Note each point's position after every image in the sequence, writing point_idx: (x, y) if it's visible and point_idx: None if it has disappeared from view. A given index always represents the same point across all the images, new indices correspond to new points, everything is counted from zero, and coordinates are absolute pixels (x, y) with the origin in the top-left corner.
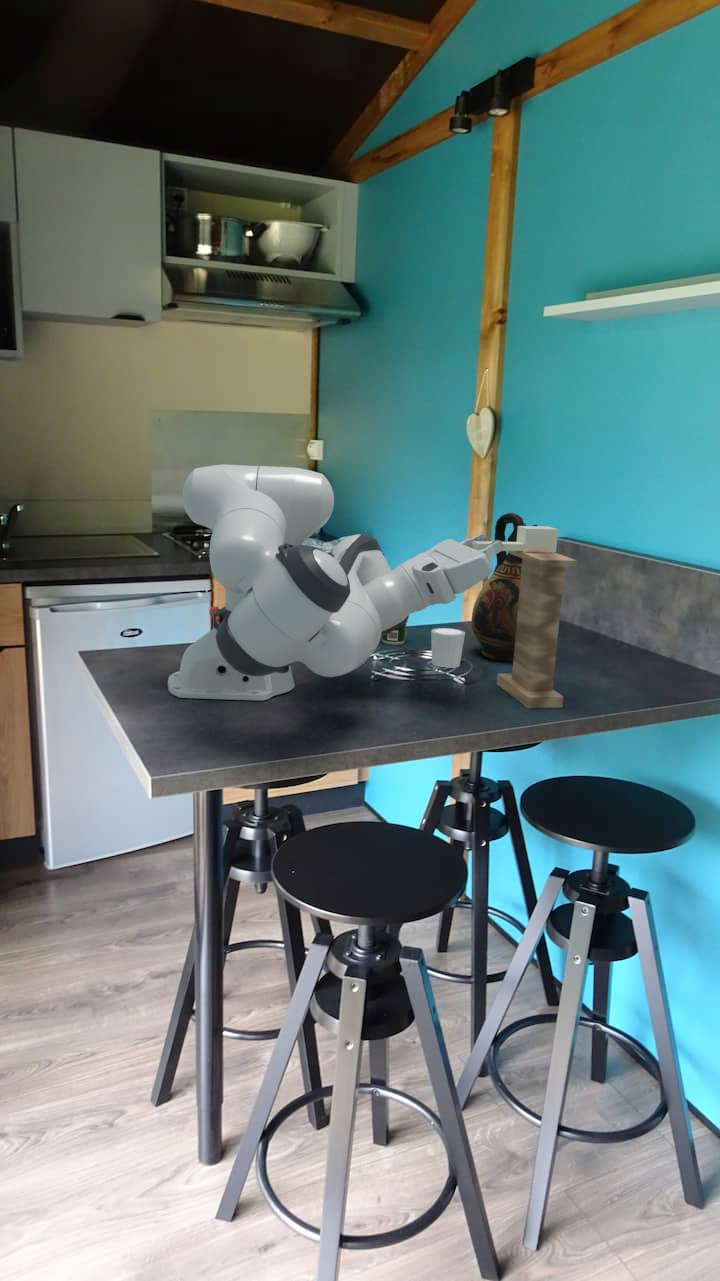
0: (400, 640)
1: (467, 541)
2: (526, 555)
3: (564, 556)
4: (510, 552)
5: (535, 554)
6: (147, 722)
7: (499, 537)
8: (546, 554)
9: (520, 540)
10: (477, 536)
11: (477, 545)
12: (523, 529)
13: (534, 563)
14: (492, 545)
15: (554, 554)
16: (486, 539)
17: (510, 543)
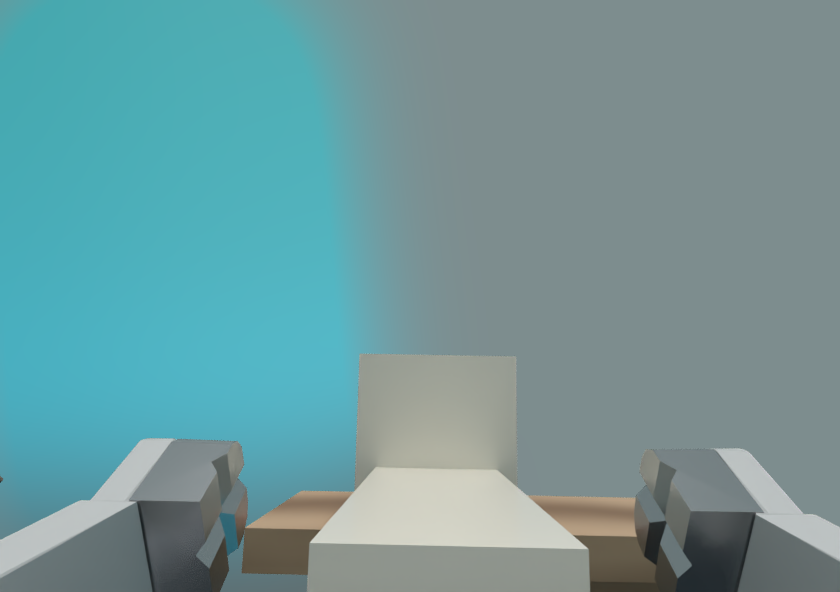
0: None
1: (22, 580)
2: (613, 544)
3: (612, 498)
4: (301, 563)
5: (590, 522)
6: None
7: None
8: (567, 509)
9: (429, 450)
10: (144, 471)
11: (548, 587)
12: (464, 367)
13: (607, 587)
14: (803, 518)
15: (551, 501)
16: (240, 489)
17: (474, 479)
